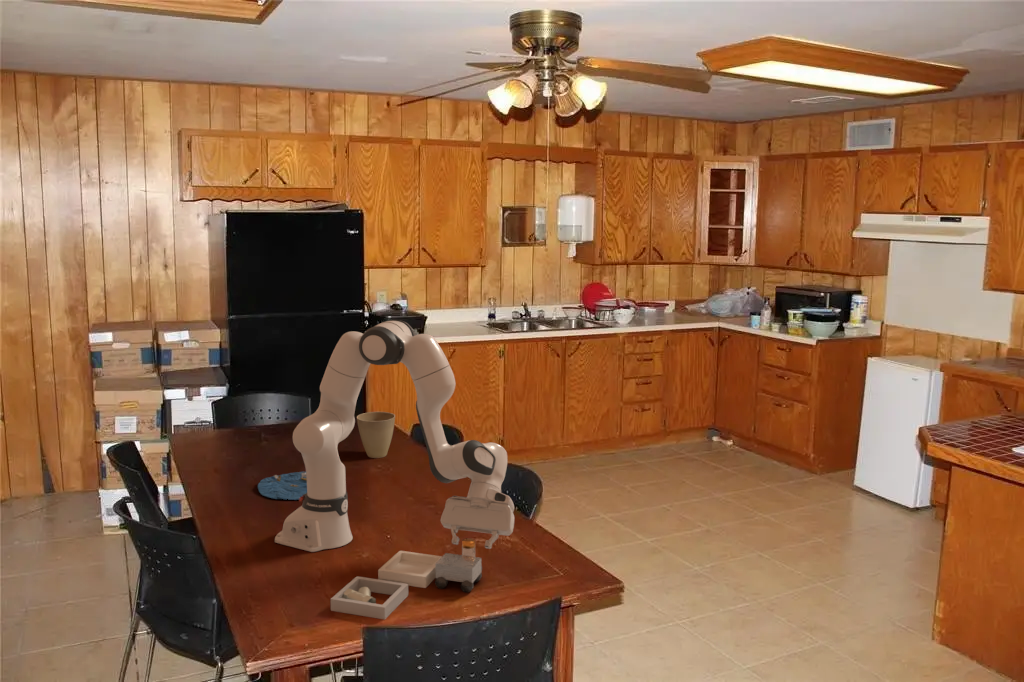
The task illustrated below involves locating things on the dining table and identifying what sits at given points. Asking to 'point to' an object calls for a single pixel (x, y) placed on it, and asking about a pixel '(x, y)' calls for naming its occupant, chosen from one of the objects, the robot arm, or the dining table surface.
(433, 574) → the tray
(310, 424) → the robot arm
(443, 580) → the wheeled grey cart
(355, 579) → the parts bin
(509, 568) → the dining table surface
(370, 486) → the dining table surface
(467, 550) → the jar with orange lid
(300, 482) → the decorative plate
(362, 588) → the pipe fitting
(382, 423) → the plant pot
